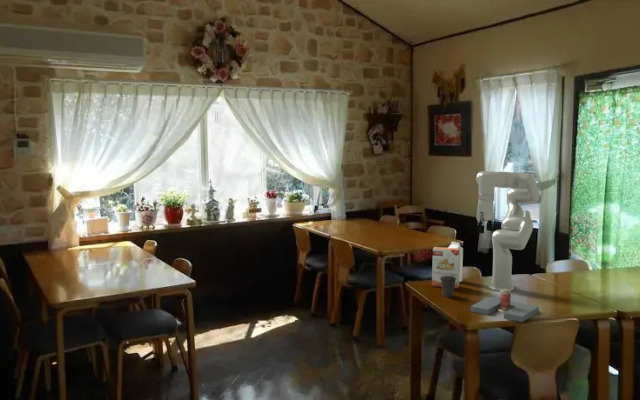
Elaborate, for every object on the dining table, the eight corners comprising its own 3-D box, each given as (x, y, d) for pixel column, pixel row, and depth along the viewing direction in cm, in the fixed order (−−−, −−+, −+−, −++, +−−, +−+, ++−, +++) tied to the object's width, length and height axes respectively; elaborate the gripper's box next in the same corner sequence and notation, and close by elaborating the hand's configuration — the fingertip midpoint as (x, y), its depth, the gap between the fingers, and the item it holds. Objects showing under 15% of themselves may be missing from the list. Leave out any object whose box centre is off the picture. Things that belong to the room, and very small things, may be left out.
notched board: (489, 302, 277) (489, 297, 277) (538, 311, 262) (539, 306, 262) (470, 311, 262) (470, 306, 262) (521, 322, 247) (522, 316, 246)
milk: (454, 282, 315) (455, 243, 313) (446, 280, 320) (447, 242, 318) (462, 281, 319) (463, 242, 316) (454, 279, 324) (454, 240, 321)
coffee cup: (456, 298, 284) (456, 278, 283) (439, 297, 286) (440, 277, 285) (455, 294, 292) (456, 274, 291) (439, 293, 294) (439, 274, 293)
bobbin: (501, 308, 266) (502, 288, 265) (513, 311, 263) (514, 290, 261) (496, 311, 262) (496, 290, 261) (508, 314, 258) (509, 292, 257)
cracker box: (431, 286, 307) (432, 248, 305) (433, 283, 313) (434, 246, 310) (458, 288, 302) (459, 250, 300) (459, 286, 308) (460, 248, 306)
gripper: (486, 195, 289) (485, 229, 291) (471, 198, 276) (470, 233, 278) (500, 196, 285) (499, 230, 286) (485, 199, 272) (484, 235, 273)
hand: (485, 231), depth 282 cm, fingers open, 9 cm apart
